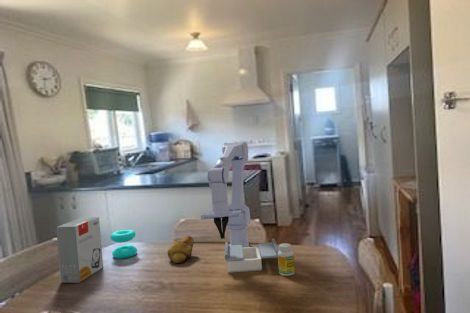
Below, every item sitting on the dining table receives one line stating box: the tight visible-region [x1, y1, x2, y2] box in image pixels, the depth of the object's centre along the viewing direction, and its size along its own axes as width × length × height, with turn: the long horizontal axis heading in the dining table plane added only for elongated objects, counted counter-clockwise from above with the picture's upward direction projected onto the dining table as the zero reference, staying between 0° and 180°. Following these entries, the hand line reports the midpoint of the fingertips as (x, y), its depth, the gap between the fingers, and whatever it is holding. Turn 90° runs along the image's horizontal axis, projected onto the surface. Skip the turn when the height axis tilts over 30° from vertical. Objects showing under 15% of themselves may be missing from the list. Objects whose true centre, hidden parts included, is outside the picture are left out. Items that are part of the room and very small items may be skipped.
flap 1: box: [224, 241, 243, 262], centre depth 135 cm, size 15×6×2 cm, turn 1°
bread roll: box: [167, 235, 195, 264], centre depth 146 cm, size 13×10×8 cm
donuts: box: [110, 229, 138, 260], centre depth 155 cm, size 10×10×10 cm
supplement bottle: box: [277, 242, 296, 277], centre depth 124 cm, size 5×5×10 cm
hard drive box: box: [55, 216, 104, 284], centre depth 136 cm, size 16×8×20 cm, turn 168°
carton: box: [225, 245, 263, 274], centre depth 135 cm, size 14×12×4 cm
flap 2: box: [257, 238, 280, 259], centre depth 135 cm, size 15×6×2 cm, turn 1°
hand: (222, 237), depth 134 cm, fingers closed
